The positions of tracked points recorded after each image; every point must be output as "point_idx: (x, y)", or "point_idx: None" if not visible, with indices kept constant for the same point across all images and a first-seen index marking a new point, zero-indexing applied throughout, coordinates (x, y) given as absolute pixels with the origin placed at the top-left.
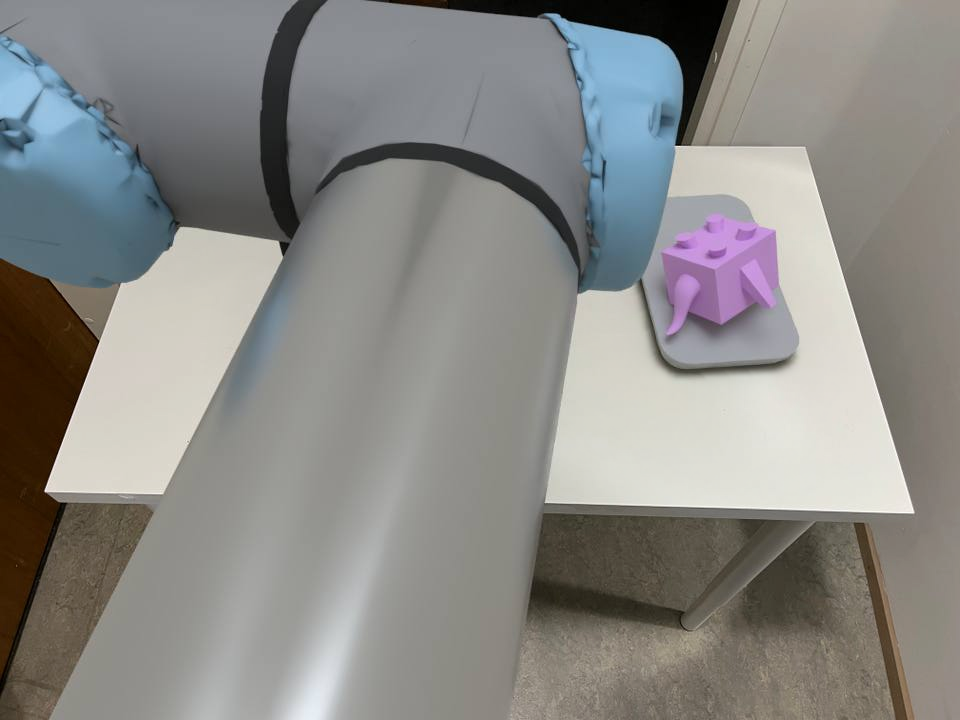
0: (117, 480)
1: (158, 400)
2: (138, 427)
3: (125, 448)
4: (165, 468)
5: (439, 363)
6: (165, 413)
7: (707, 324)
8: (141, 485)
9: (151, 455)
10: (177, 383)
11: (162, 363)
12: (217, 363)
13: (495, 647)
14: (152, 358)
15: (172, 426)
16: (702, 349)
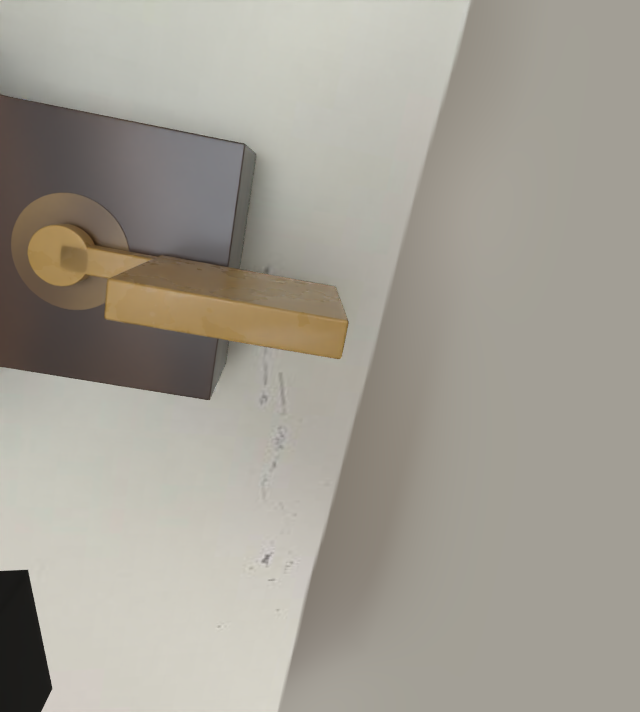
0: (267, 707)
1: (136, 668)
2: (182, 690)
3: (216, 702)
4: (260, 652)
5: None
6: (162, 658)
7: None
8: (281, 679)
9: (234, 671)
10: (106, 645)
11: (63, 668)
12: (71, 591)
13: None
14: (52, 682)
15: (187, 648)
16: None
